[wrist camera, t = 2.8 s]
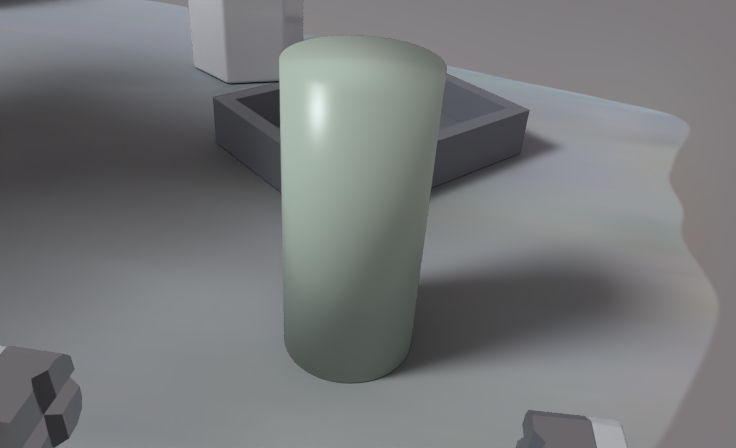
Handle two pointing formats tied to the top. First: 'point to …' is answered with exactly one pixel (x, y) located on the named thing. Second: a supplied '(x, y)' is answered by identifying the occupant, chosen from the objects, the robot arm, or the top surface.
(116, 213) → the top surface
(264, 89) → the tray
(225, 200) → the top surface
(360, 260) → the pale green cylinder
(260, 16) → the jar
